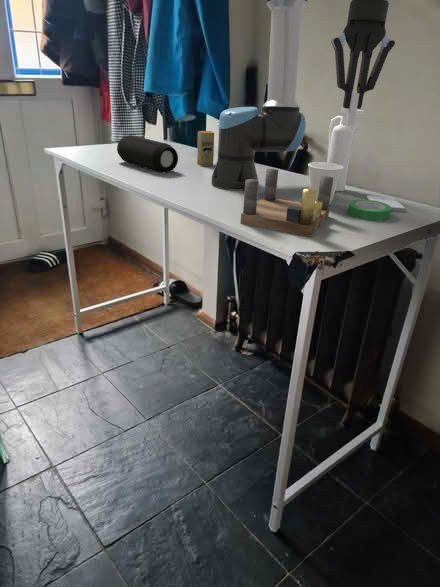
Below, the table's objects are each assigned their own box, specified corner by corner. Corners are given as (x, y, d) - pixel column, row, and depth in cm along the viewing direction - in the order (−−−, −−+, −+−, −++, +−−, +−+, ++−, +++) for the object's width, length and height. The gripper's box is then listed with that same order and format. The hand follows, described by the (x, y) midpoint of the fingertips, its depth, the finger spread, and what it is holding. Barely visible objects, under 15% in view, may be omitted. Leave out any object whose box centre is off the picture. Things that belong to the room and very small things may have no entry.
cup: (313, 197, 137) (318, 160, 132) (343, 204, 131) (349, 166, 126) (296, 203, 130) (301, 164, 125) (327, 211, 125) (333, 171, 119)
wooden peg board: (265, 205, 126) (268, 168, 122) (328, 216, 120) (334, 177, 115) (240, 223, 112) (243, 181, 107) (310, 236, 105) (317, 192, 101)
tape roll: (365, 222, 117) (367, 212, 116) (339, 210, 126) (341, 201, 125) (398, 218, 121) (400, 209, 120) (370, 207, 130) (372, 198, 129)
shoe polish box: (197, 163, 173) (197, 130, 168) (209, 163, 175) (210, 130, 169) (200, 166, 169) (201, 133, 164) (213, 166, 171) (214, 132, 165)
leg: (311, 211, 114) (315, 180, 110) (323, 213, 113) (328, 182, 109) (296, 222, 106) (301, 189, 102) (309, 224, 104) (314, 192, 101)
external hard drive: (376, 212, 127) (365, 199, 138) (405, 213, 127) (392, 201, 138) (377, 206, 127) (366, 194, 138) (406, 208, 126) (393, 196, 137)
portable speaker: (180, 172, 159) (180, 143, 154) (157, 176, 153) (157, 145, 148) (137, 160, 175) (136, 133, 170) (115, 163, 168) (113, 135, 164)
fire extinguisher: (324, 183, 153) (336, 104, 142) (353, 191, 145) (368, 108, 134) (311, 185, 149) (322, 105, 138) (340, 194, 141) (355, 109, 130)
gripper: (342, -5, 86) (323, 125, 97) (409, -2, 86) (383, 128, 97) (333, -1, 93) (317, 121, 104) (395, 3, 93) (373, 123, 104)
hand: (349, 124), depth 100 cm, fingers closed
